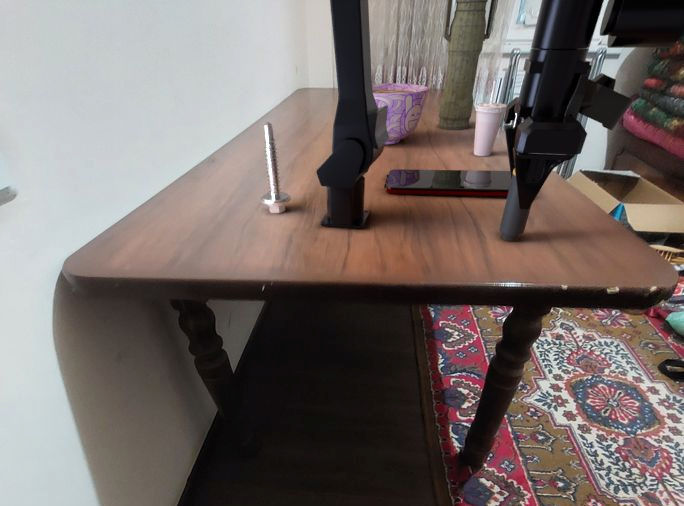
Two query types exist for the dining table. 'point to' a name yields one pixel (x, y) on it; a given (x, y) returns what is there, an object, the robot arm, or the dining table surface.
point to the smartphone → (448, 182)
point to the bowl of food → (400, 107)
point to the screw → (273, 175)
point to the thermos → (463, 59)
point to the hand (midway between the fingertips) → (519, 196)
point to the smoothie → (487, 125)
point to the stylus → (513, 215)
